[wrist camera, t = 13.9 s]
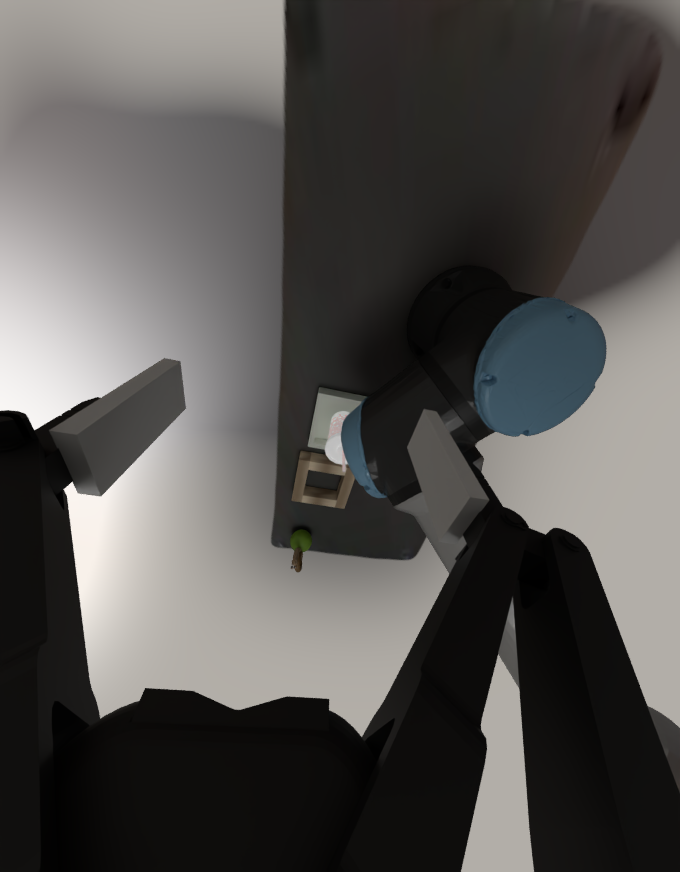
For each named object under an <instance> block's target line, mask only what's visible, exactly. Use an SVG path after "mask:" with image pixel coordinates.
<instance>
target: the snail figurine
mask: <svg viewBox="0 0 680 872" xmlns="http://www.w3.org/2000/svg"><path fill="white" fill-rule="evenodd" d="M311 543H312V538H311V535H310V533H309V532H307V531H306V530H297V531H295V532H294V533H293V534H292V536H291V539H290V544H291V547H292V549H293V550H294V555H293V560H292V565H294V569H295V570H296V572H300V571H301V569H302V557H303V553H302V552H305V551H307V550H308V549H309V548H310V546H311ZM291 569H293V566H291Z"/></svg>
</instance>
